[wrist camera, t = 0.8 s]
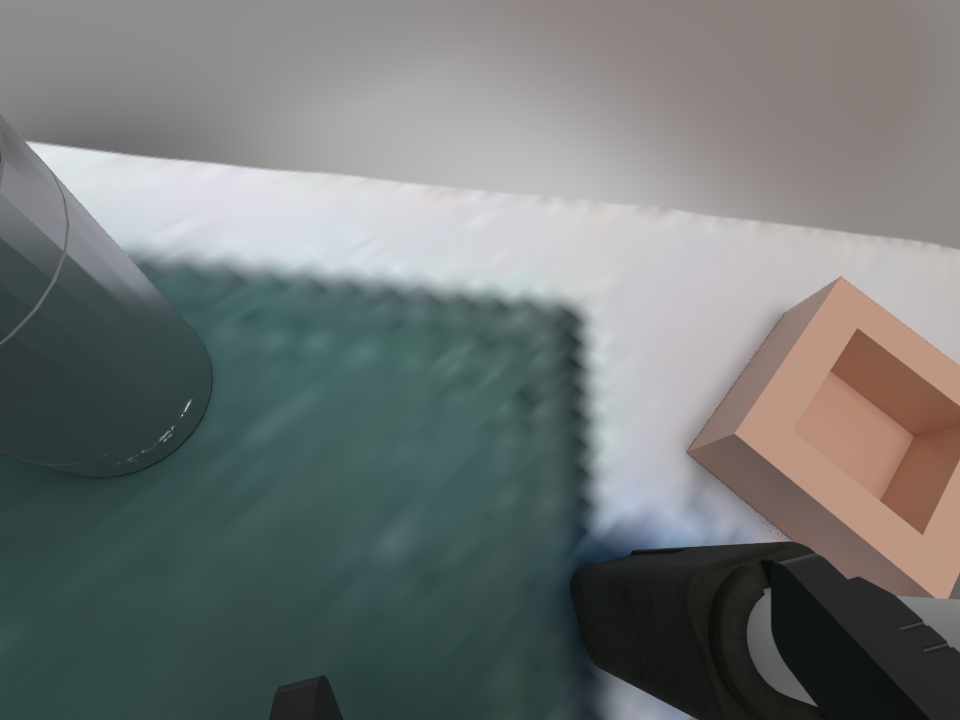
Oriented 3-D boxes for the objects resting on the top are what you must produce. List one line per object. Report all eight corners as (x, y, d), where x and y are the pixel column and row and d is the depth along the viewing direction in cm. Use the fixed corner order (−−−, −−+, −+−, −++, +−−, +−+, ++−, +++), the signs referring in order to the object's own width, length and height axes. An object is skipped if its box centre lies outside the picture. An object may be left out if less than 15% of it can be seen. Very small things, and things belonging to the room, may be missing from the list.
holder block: (686, 452, 33) (734, 433, 28) (784, 312, 37) (841, 276, 32) (862, 599, 31) (944, 605, 26) (945, 437, 35) (1029, 417, 30)
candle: (653, 544, 31) (1474, 485, 7) (687, 647, 29) (1859, 988, 6) (564, 570, 30) (1186, 597, 6) (595, 677, 28) (1563, 1245, 5)
